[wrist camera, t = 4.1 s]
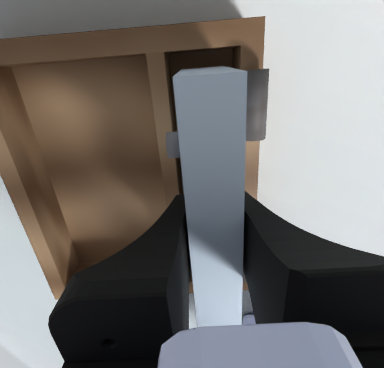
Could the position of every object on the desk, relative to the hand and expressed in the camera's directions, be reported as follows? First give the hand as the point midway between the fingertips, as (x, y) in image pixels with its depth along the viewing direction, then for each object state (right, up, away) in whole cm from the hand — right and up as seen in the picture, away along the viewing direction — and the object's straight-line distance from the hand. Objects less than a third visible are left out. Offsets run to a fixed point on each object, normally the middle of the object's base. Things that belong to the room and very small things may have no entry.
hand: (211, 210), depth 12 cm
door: (0, +2, +3) cm, 3 cm away
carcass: (-4, +2, +5) cm, 7 cm away
